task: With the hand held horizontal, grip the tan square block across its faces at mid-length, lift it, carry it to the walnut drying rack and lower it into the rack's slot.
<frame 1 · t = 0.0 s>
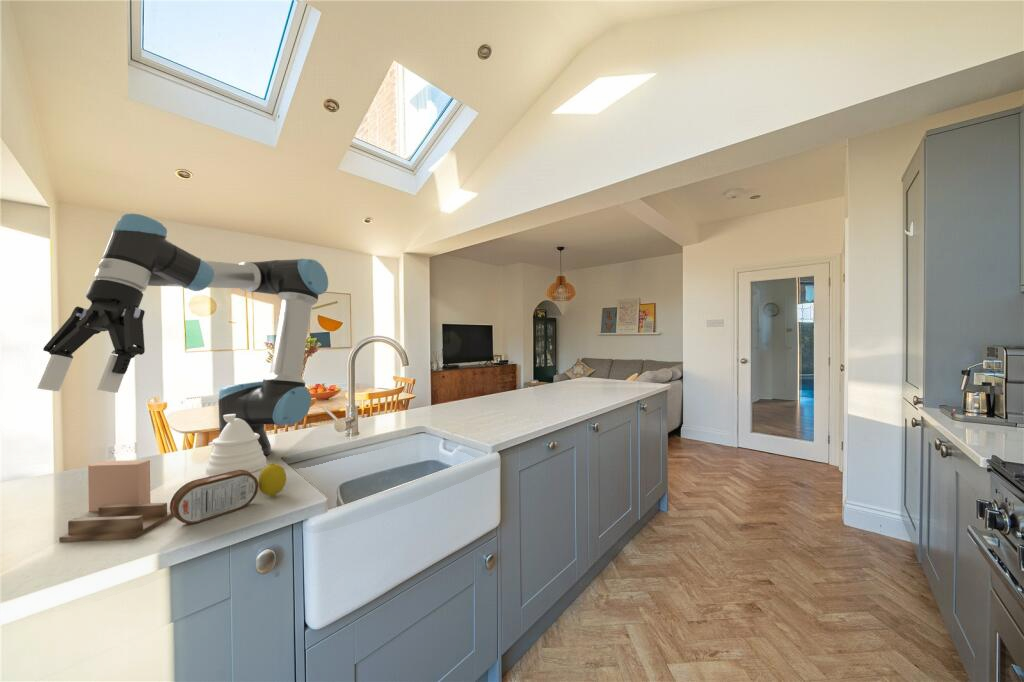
hand: (77, 390, 70), 28 cm above the countertop, tool tilted 20°, fingers open, 13 cm apart
tan square block: (120, 507, 85), on the countertop
honey pot: (237, 483, 99), on the countertop
tin: (218, 516, 81), on the countertop
lemon: (272, 497, 90), on the countertop
rack: (120, 528, 75), on the countertop
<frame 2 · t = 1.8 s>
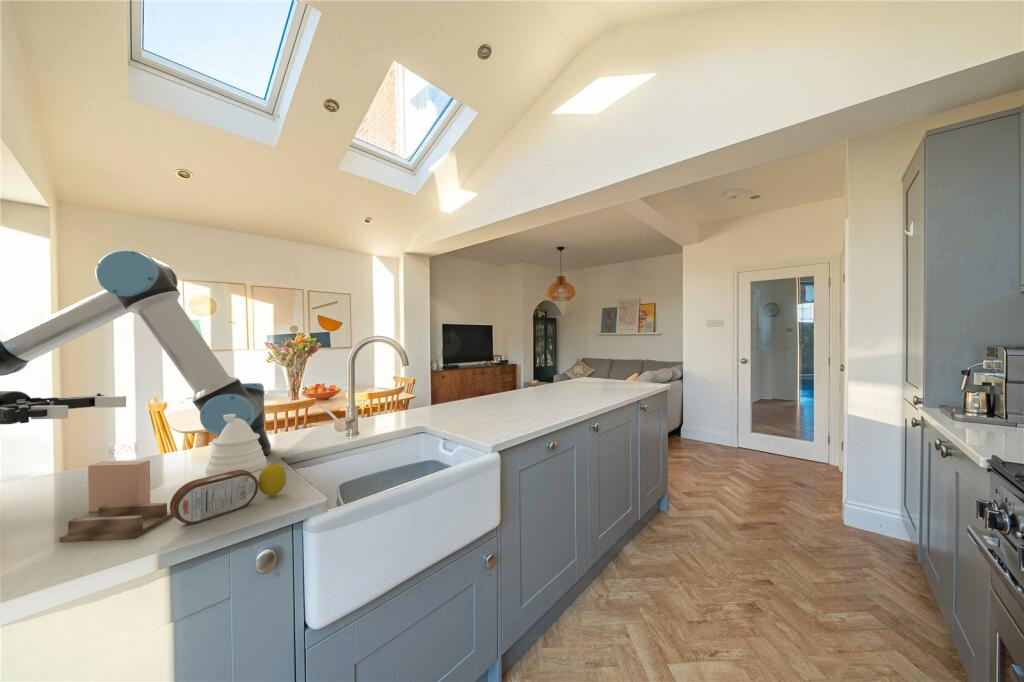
hand: (98, 406, 89), 22 cm above the countertop, tool horizontal, fingers open, 13 cm apart
nothing on the countertop moved.
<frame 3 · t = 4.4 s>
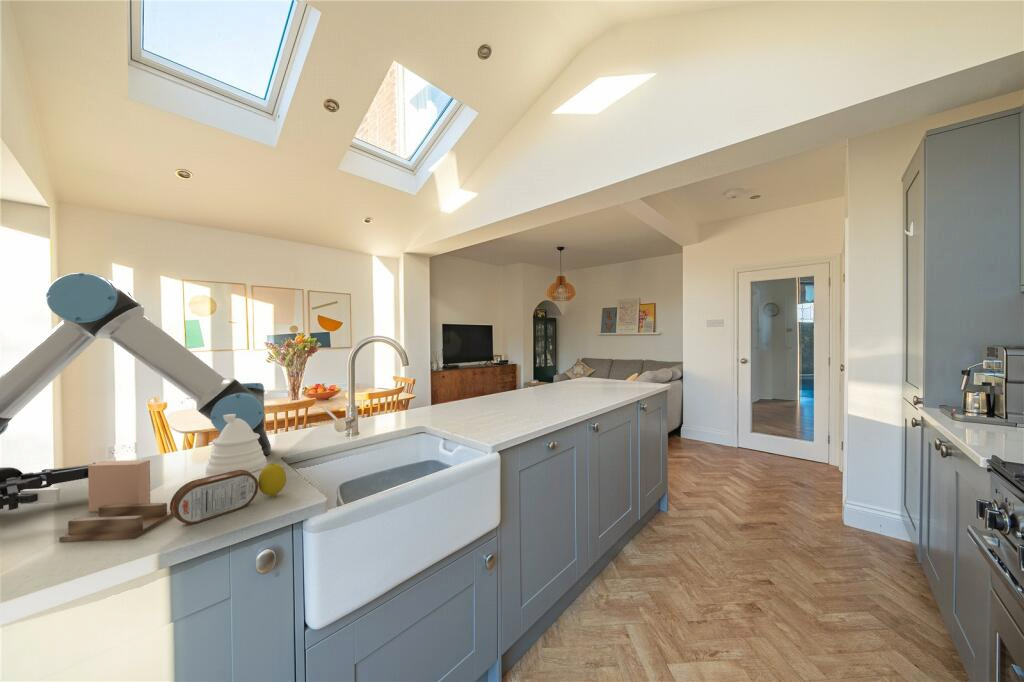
hand: (92, 482, 84), 6 cm above the countertop, tool horizontal, fingers open, 13 cm apart
nothing on the countertop moved.
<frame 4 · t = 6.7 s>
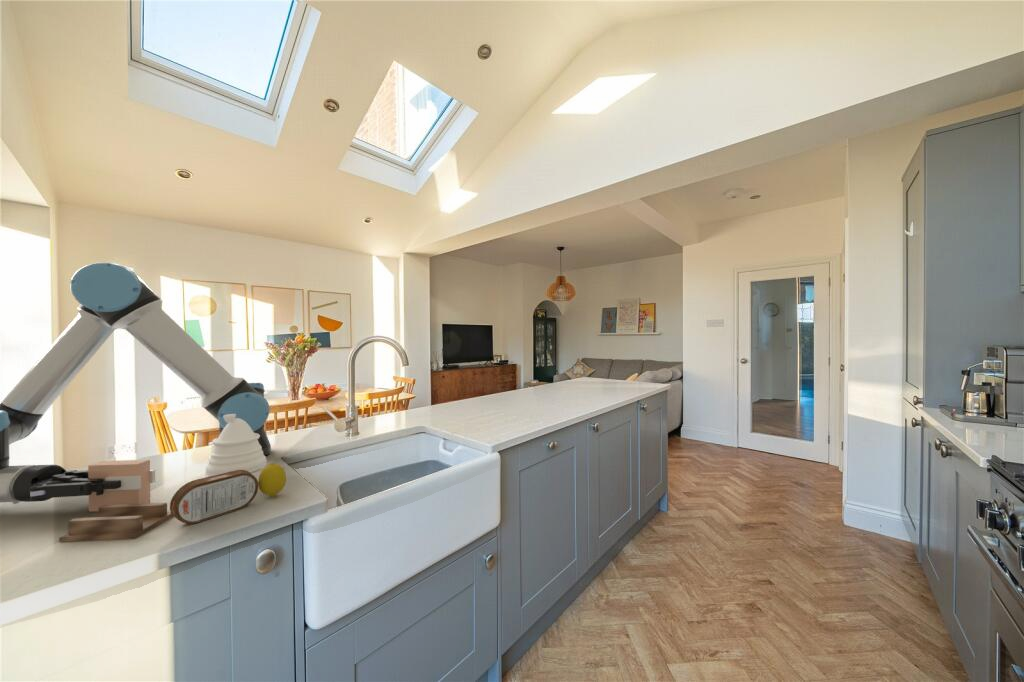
hand: (146, 479, 85), 6 cm above the countertop, tool horizontal, fingers closed on tan square block, 3 cm apart
tan square block: (120, 507, 85), on the countertop, touching gripper
everything else where it was.
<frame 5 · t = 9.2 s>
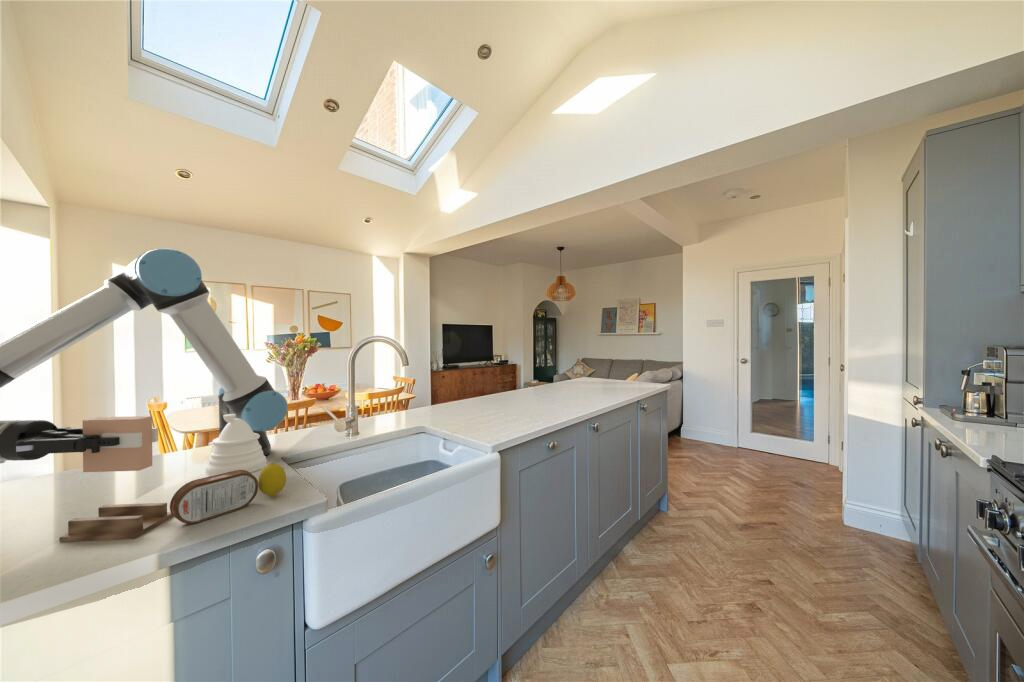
hand: (148, 437, 76), 18 cm above the countertop, tool horizontal, fingers closed on tan square block, 3 cm apart
tan square block: (118, 468, 75), point 12 cm above the countertop, touching gripper
everything else where it was.
when the fingers open (8 cm above the countertop, at t = 11.5 s): tan square block drops 1 cm, resting on rack.
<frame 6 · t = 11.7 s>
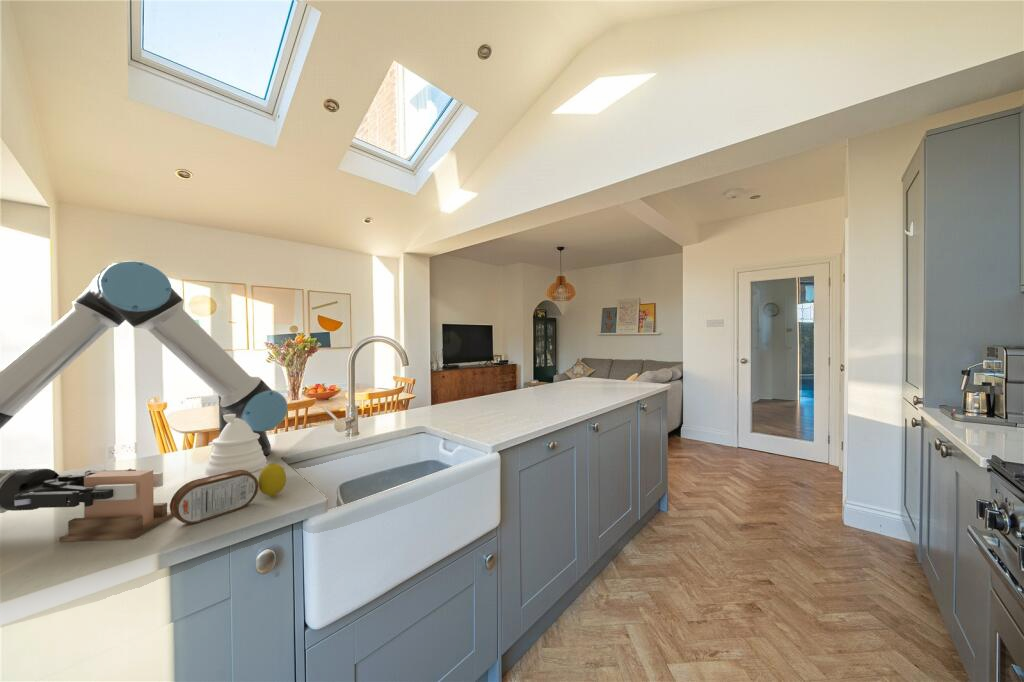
hand: (148, 485, 76), 8 cm above the countertop, tool horizontal, fingers open, 5 cm apart
tan square block: (120, 524, 75), point 1 cm above the countertop, touching rack
everything else where it was.
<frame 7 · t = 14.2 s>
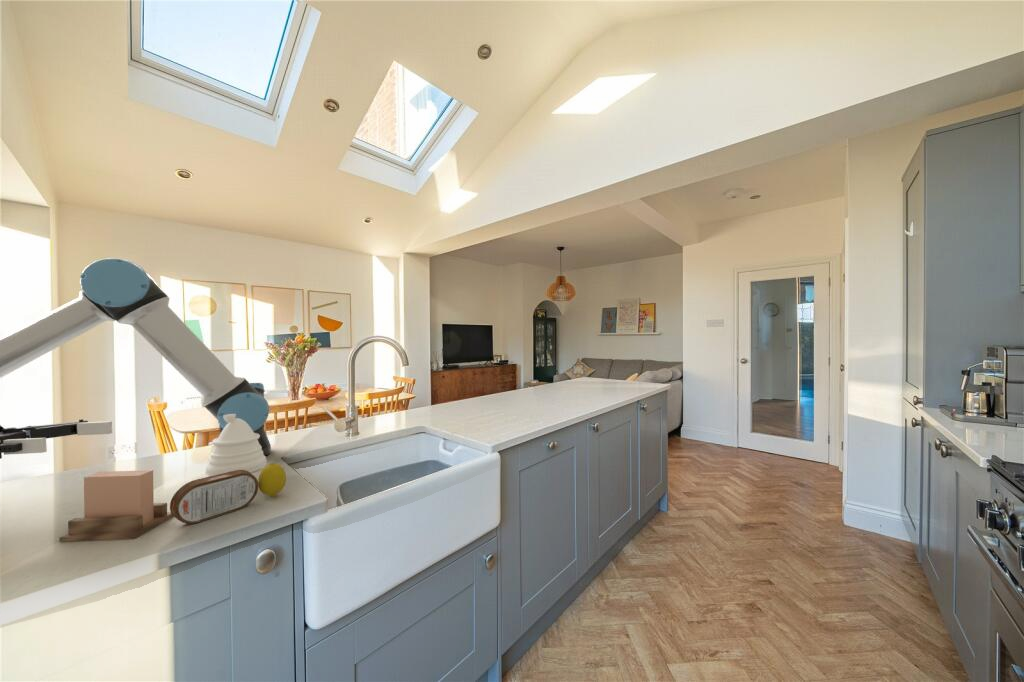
hand: (80, 435, 80), 17 cm above the countertop, tool horizontal, fingers open, 13 cm apart
nothing on the countertop moved.
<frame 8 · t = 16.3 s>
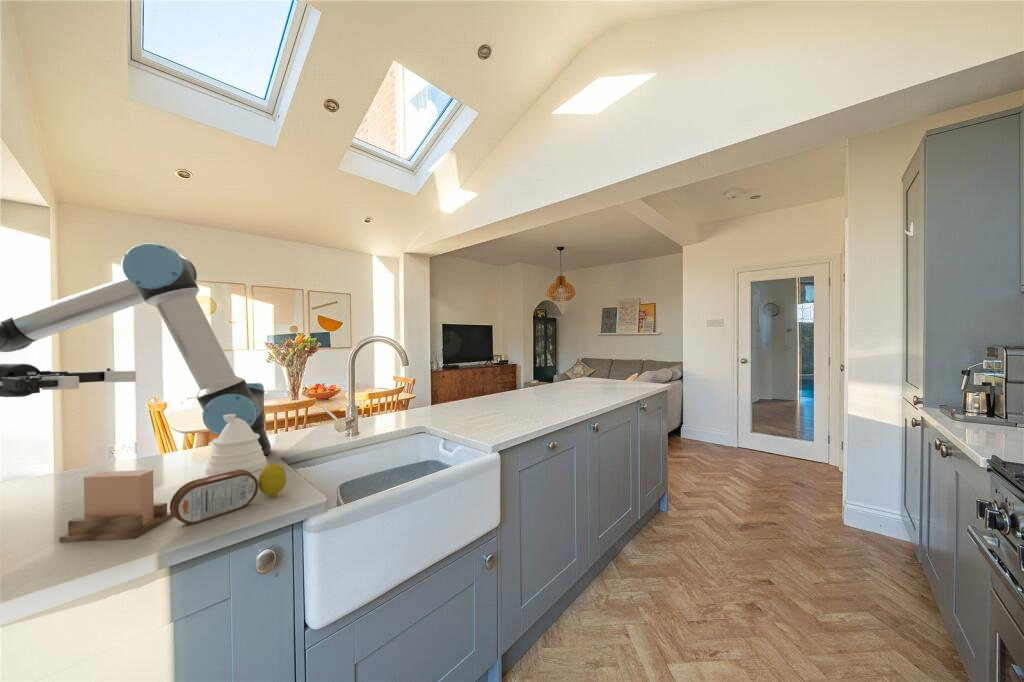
hand: (108, 379, 89), 28 cm above the countertop, tool horizontal, fingers open, 13 cm apart
nothing on the countertop moved.
at the end: tan square block 0.0 cm from the rack (horizontally); tan square block point 0.8 cm above the countertop; tan square block tilted 0° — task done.
